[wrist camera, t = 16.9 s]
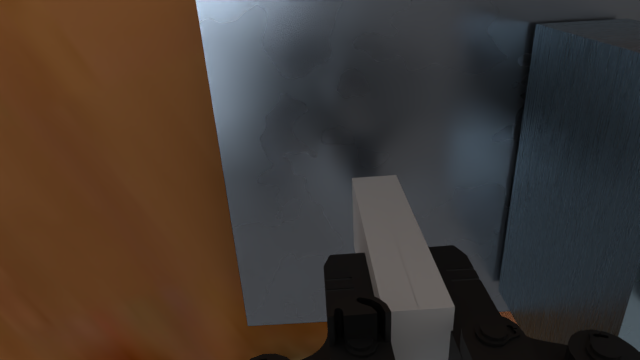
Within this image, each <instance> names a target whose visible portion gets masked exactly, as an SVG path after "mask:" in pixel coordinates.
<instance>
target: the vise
mask: <svg viewBox="0 0 640 360" xmlns="http://www.w3.org/2000/svg"><path fill="white" fill-rule="evenodd" d="M196 5H197V11H198V18H199V24H200V30H201V36H202V43H203V49H204V55H205V61H206V68H207V74H208V80H209V86H210V93H211V99H212V105H213V111H214V117H215V124H216V130H217V136H218V142H219V149H220V155H221V161H222V167H223V174H224V180H225V186H226V192H227V199H228V205H229V211H230V217H231V224H232V230H233V236H234V242H235V249H236V255H237V261H238V267H239V273H240V280H241V286H242V292H243V298H244V305H245V311H246V317H247V323H248V326H256V325H274V324H292V323H309V322H327V312H326V298H325V282H324V267H323V266H324V264H325V263H326V261H327V259H328V257H329V256H330V255H336V254H350V253H355V249H354V232H353V199H352V178H359V177H373V176H388V175H396V176H397V178H398V180H399V183H400V185H401V187H402V189H403V192H404V194H405V196H406V198H407V201H408V203H409V205H410V207H411V210H412V212H413V214H414V216H415V219H416V221H417V223H418V225H419V228H420V230H421V232H422V234H423V237H424V239H425V241H426V243H427V246H428V247H434V246H448V245H454V246H455V247H457V248H458V249H459V250H461V251H462V252H463V253H465V254H466V255H467V256H468V258H469V260H470V262H471V264H472V265H473V267H474V270H475V271H476V272H477V274H478V276H479V279H480V280H481V281H482V283H483V285H484V287H485V288H486V290H487V292H488V294H489V295H490V297H491V299H492V301H493V303H494V304H495V306H496V308H497V310H498V311H499V312H503V311H510V310H509V308H508V307H507V305H506V303H505V301H504V300H503V298H502V296H501V294H500V293H499V291H498V287H499V280H500V273H501V266H502V259H503V252H504V245H505V238H506V231H507V223H508V216H509V209H510V202H511V195H512V188H513V181H514V174H515V167H516V160H517V153H518V146H519V139H520V132H521V125H522V118H523V111H524V104H525V97H526V90H527V83H528V76H529V68H530V61H531V54H532V47H533V40H534V33H535V26H536V24H543V23H560V22H576V21H593V20H610V19H633V20H638V21H640V0H196Z"/></svg>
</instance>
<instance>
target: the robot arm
mask: <svg viewBox="0 0 640 360" xmlns="http://www.w3.org/2000/svg"><path fill="white" fill-rule="evenodd" d="M352 199H353V232H354V249H355V253H350V254H336V255H330V256H329V257H328V259H327V261H326V263H325V264H324V266H323V267H324V282H325V298H326V312H327V326H328V336H327V339H326V341H325V343H324V345H323V346H322V347H321V348H320V350H318V351H317V352H316V353H314V354H313V355H311V356H309V357H307V358H305V359H302V360H640V352H639V351H638V350H637V349H636V348H634V347H633V346H632V345H631V344H629V343H627V342H626V341H624V340H623V339H621V338H620V337H618V336H615V335H612V334H610V333H607V332H604V331H598V330H592V329H591V330H581V331H578V332H576V333H574V334H573V335H571V337H570V339H569V341H568V344H567V345H565V344H559V343H553V342H548V341H542V340H538V339H534V338H530V337H528V336H526V335H525V333H524V332H523V331H522V330H521V328H520V327H519V326H518V325H517V324H516V323H514V322H512V321H511V320H509V319H507V318H505V317H502V316H501V315H500V313H499V311H498V310H497V308H496V306H495V304H494V303H493V301H492V299H491V297H490V295H489V294H488V292H487V290H486V288H485V287H484V285H483V283H482V281H481V280H480V279H479V276H478V274H477V272H476V271H475V270H474V267H473V265H472V264H471V262H470V260H469V258H468V256H467V255H466V254H465V253H463V252H462V251H461V250H459V249H458V248H457V247H455V246H454V245H448V246H434V247H428V246H427V243H426V241H425V239H424V237H423V234H422V232H421V230H420V228H419V225H418V223H417V221H416V219H415V216H414V214H413V212H412V210H411V207H410V205H409V203H408V201H407V198H406V196H405V194H404V192H403V189H402V187H401V185H400V183H399V180H398V178H397V176H396V175H388V176H373V177H359V178H352ZM250 360H289V359H288V358H287V357H285V356H281V355H278V354H262V355H259V356H257V357H254V358H251V359H250Z"/></svg>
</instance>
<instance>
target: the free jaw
mask: <svg viewBox="0 0 640 360" xmlns="http://www.w3.org/2000/svg"><path fill="white" fill-rule="evenodd" d="M498 291H499V293H500V294H501V296H502V298H503V300H504V301H505V303H506V305H507V307H508V308H509V310H510V312H511V314H512V315H513V317H514V319H515V320H516V322H517V324H518V326H519V327H520V328H521V330H522V331H523V332H524V333H525V335H526V336H528V337H530V338H534V339H538V340H542V341H548V342H553V343H559V344H565V345H567V344H568V341H569V339H570V337H571V335H573V334H574V333H576V332H578V331H581V330H591V329H592V330H598V331H604V332H607V333H610V334H612V335H615V336H618V337H620V338H621V339H623V340H624V341H626V342H627V343H629V344H631V345H632V346H633V347H634V348H636V349H637V350H638V351H639V352H640V21H638V20H633V19H610V20H593V21H576V22H560V23H543V24H536V26H535V33H534V40H533V47H532V54H531V61H530V68H529V76H528V83H527V90H526V97H525V104H524V111H523V118H522V125H521V132H520V139H519V146H518V153H517V160H516V167H515V174H514V181H513V188H512V195H511V202H510V209H509V216H508V223H507V231H506V238H505V245H504V252H503V259H502V266H501V273H500V280H499V287H498Z"/></svg>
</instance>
